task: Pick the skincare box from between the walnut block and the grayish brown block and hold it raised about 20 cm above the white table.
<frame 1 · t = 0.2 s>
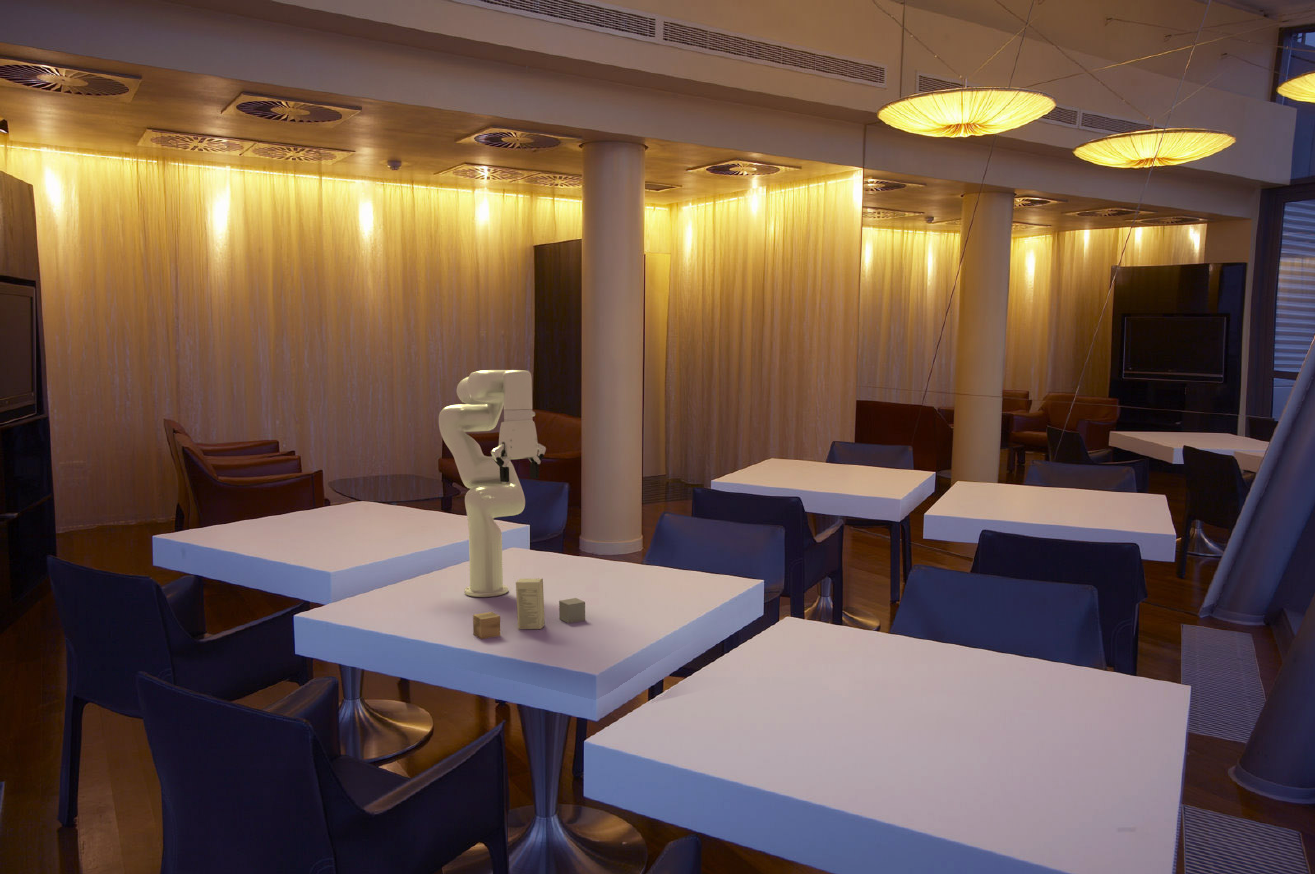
hand: (519, 480, 242), 36 cm above the table, tool pointing down, fingers open, 9 cm apart
skincare box: (530, 627, 229), on the table
walnut block: (486, 635, 223), on the table
grayish brown block: (572, 619, 236), on the table
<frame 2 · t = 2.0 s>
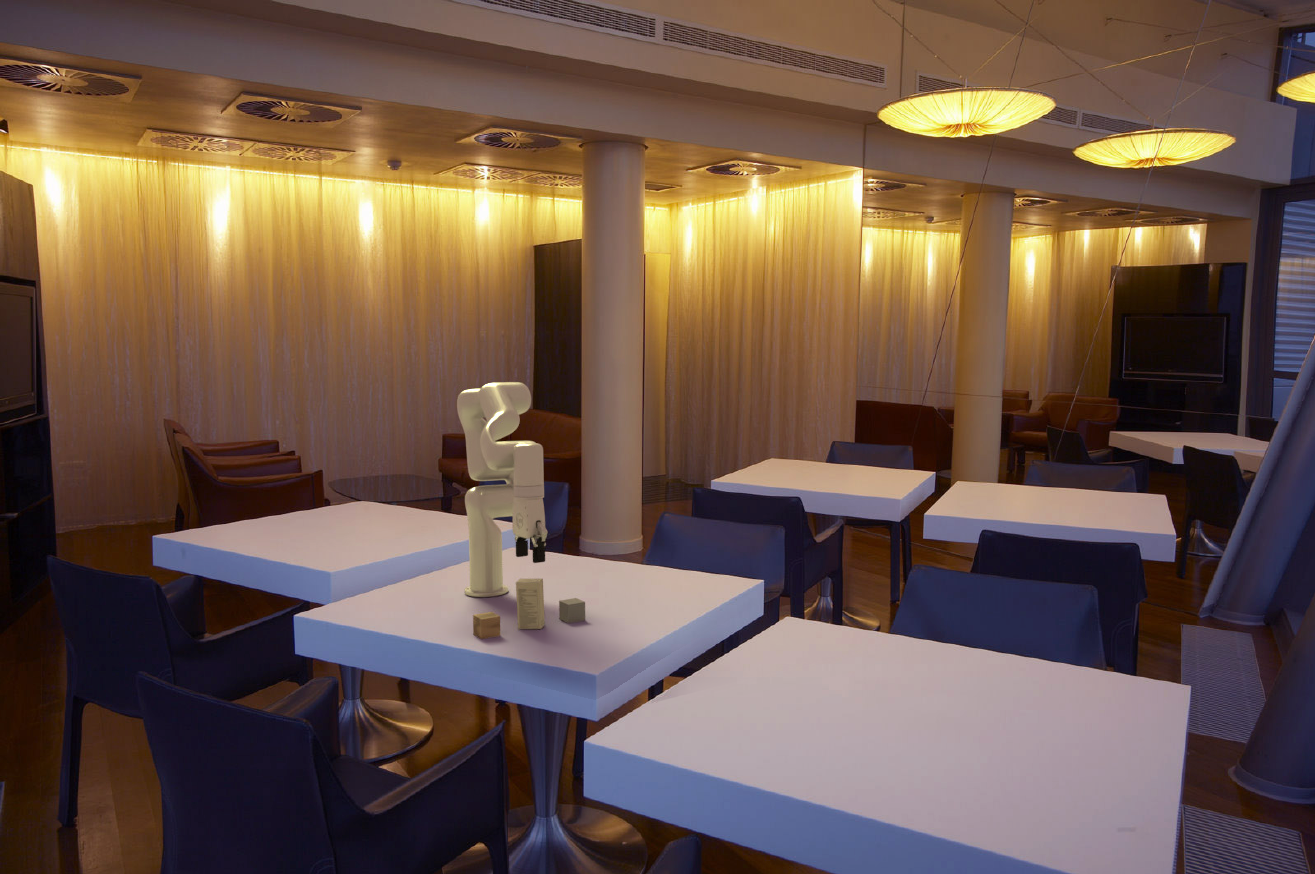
hand: (530, 559, 228), 18 cm above the table, tool pointing down, fingers open, 9 cm apart
nothing on the table moved.
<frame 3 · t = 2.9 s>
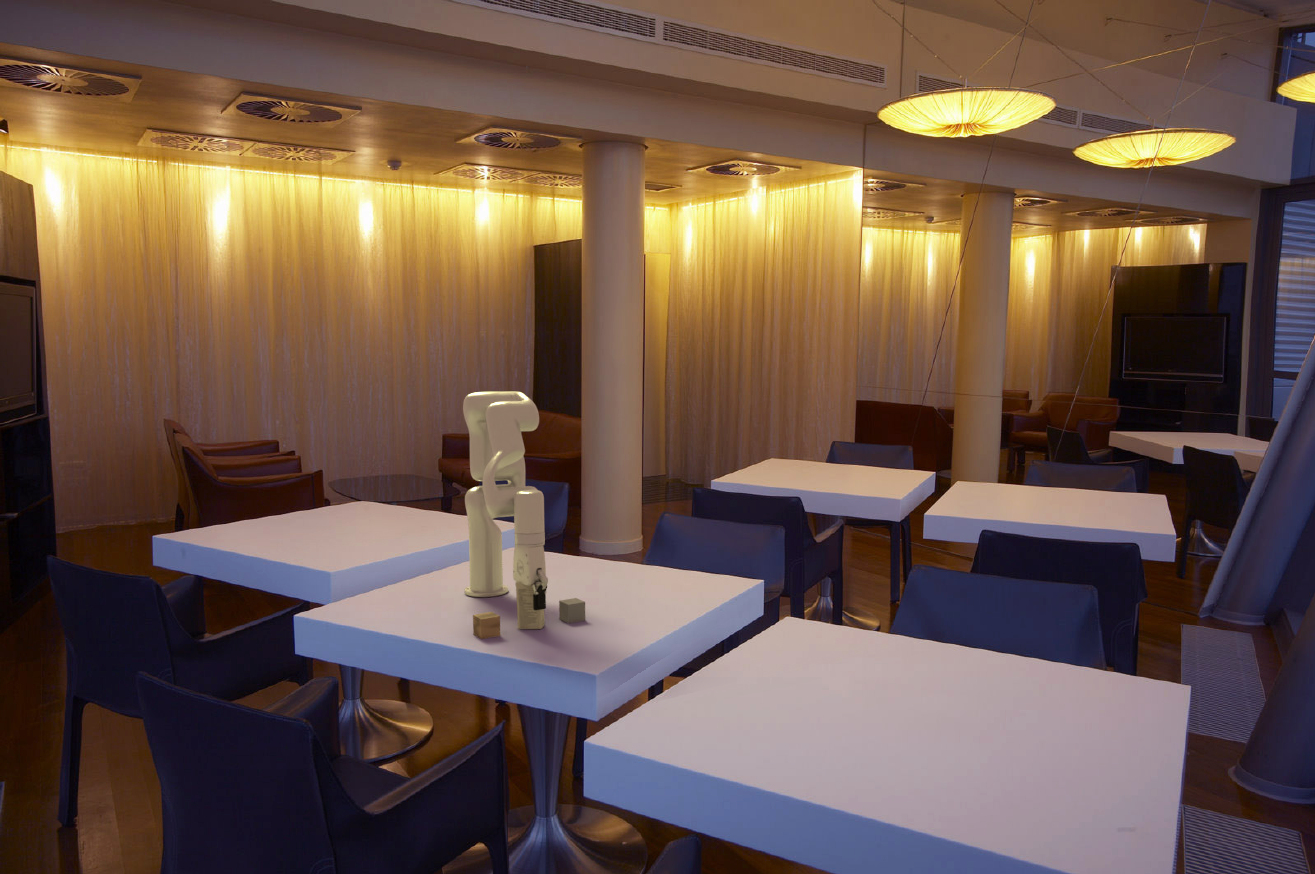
hand: (531, 605, 229), 6 cm above the table, tool pointing down, fingers open, 9 cm apart
nothing on the table moved.
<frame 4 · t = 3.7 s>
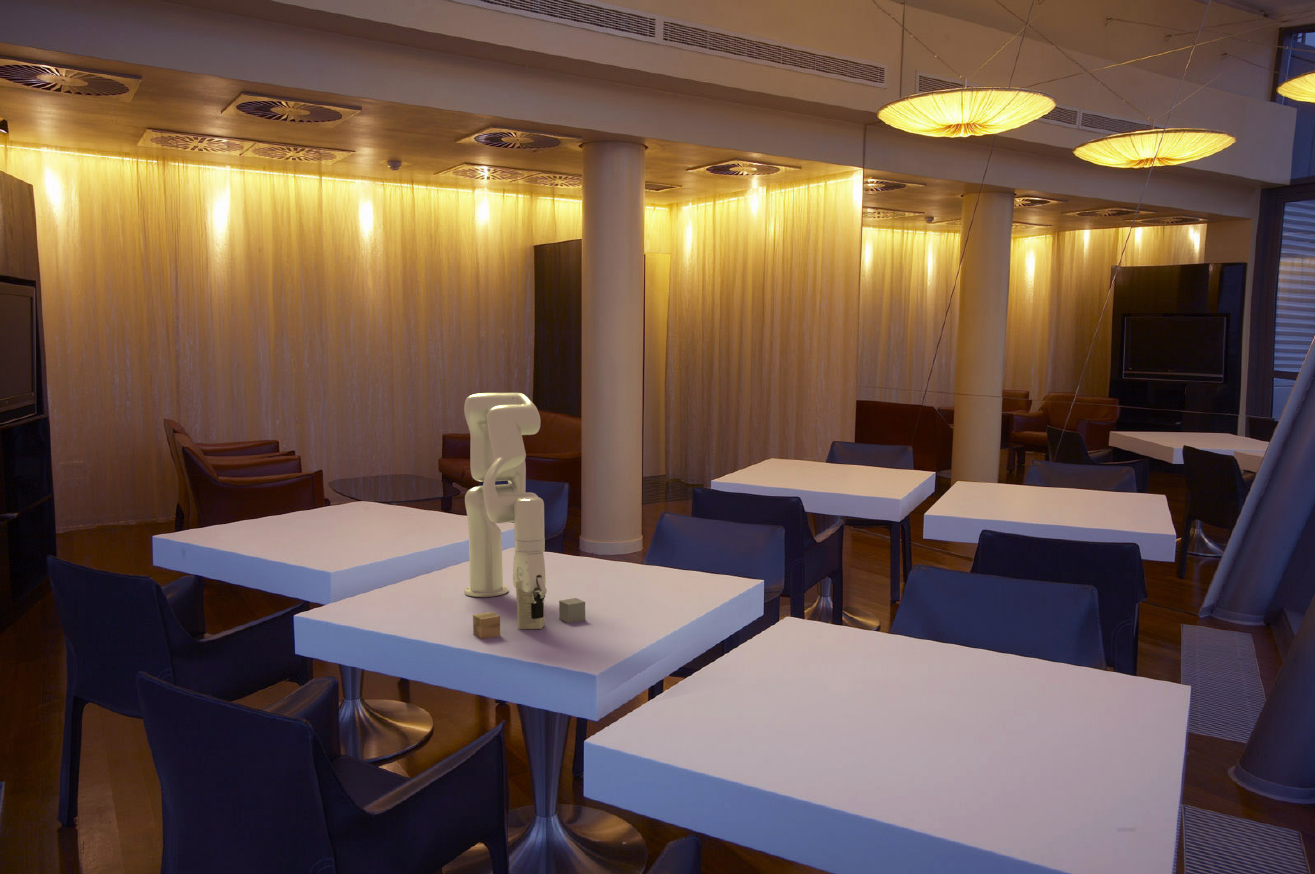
hand: (530, 614, 229), 3 cm above the table, tool pointing down, fingers closed on skincare box, 7 cm apart
skincare box: (530, 627, 229), on the table, touching gripper
everything else where it was.
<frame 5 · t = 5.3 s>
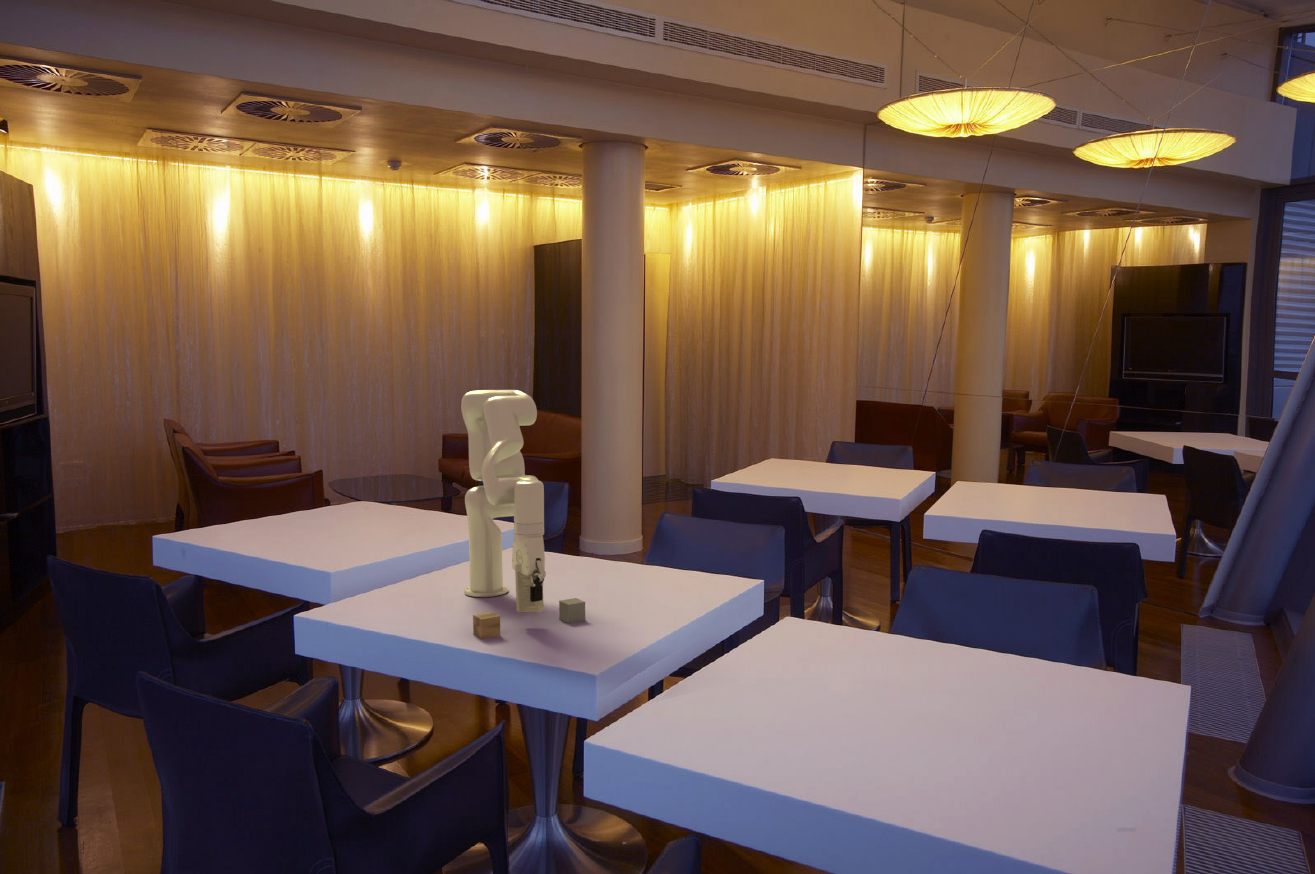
hand: (529, 596, 229), 8 cm above the table, tool pointing down, fingers closed on skincare box, 7 cm apart
skincare box: (529, 610, 230), point 4 cm above the table, touching gripper
everything else where it was.
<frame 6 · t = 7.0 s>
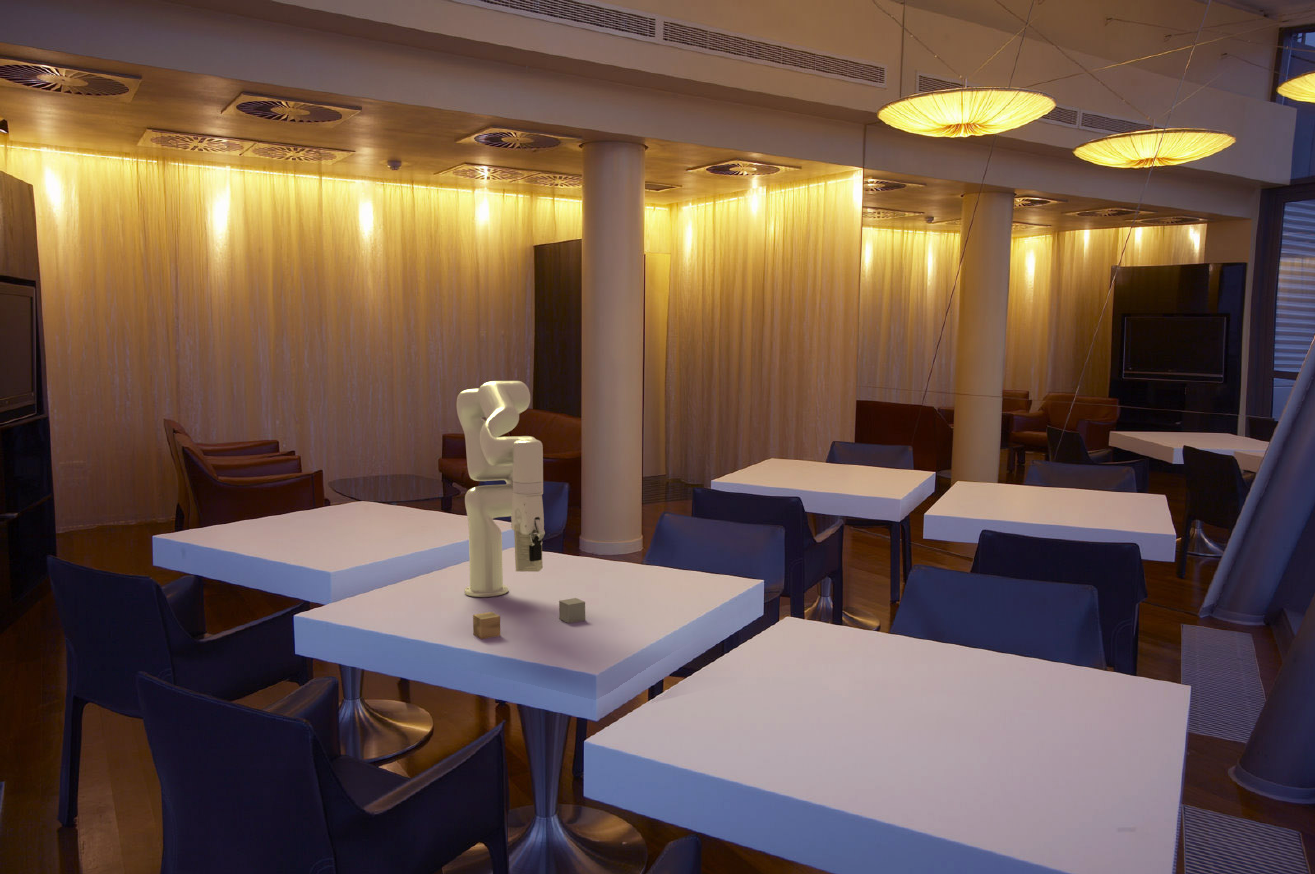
hand: (528, 557, 229), 18 cm above the table, tool pointing down, fingers closed on skincare box, 7 cm apart
skincare box: (528, 570, 229), point 14 cm above the table, touching gripper
everything else where it was.
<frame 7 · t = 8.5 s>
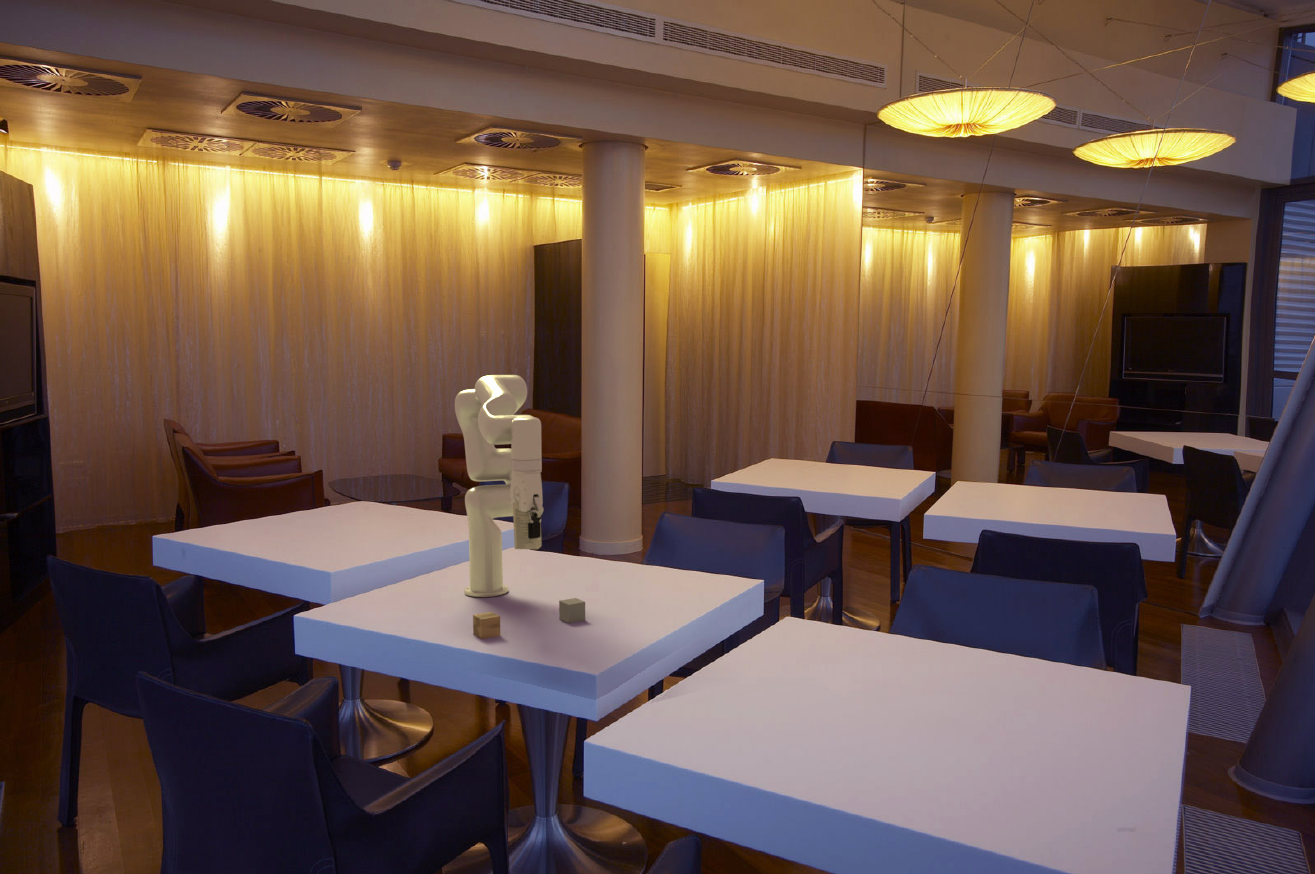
hand: (527, 535, 229), 24 cm above the table, tool pointing down, fingers closed on skincare box, 7 cm apart
skincare box: (527, 548, 229), point 20 cm above the table, touching gripper
everything else where it was.
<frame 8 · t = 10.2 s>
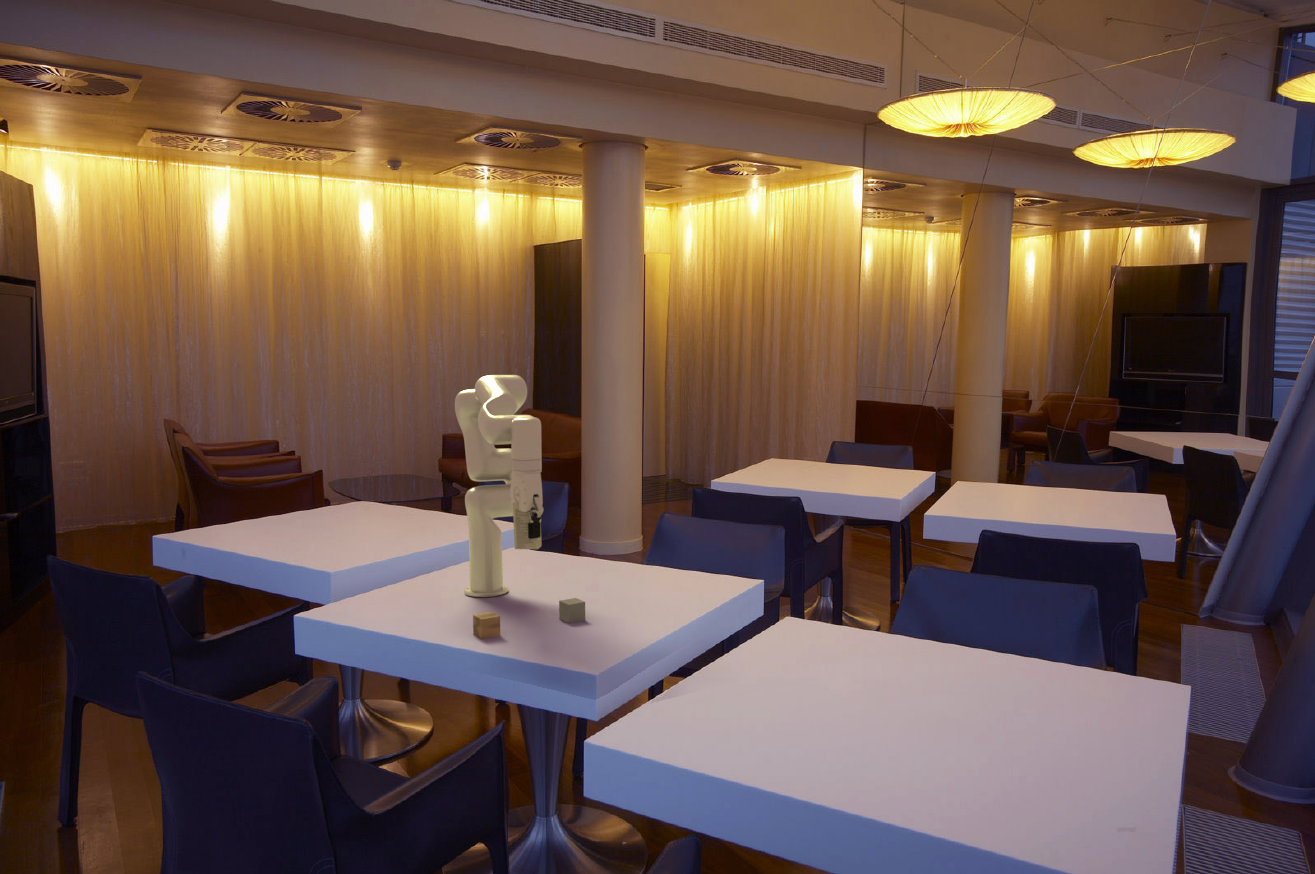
hand: (527, 535, 229), 24 cm above the table, tool pointing down, fingers closed on skincare box, 7 cm apart
skincare box: (527, 548, 229), point 20 cm above the table, touching gripper
everything else where it was.
at the end: skincare box point 20.0 cm above the table; walnut block moved 0.1 cm from its start; grayish brown block moved 0.1 cm from its start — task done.
